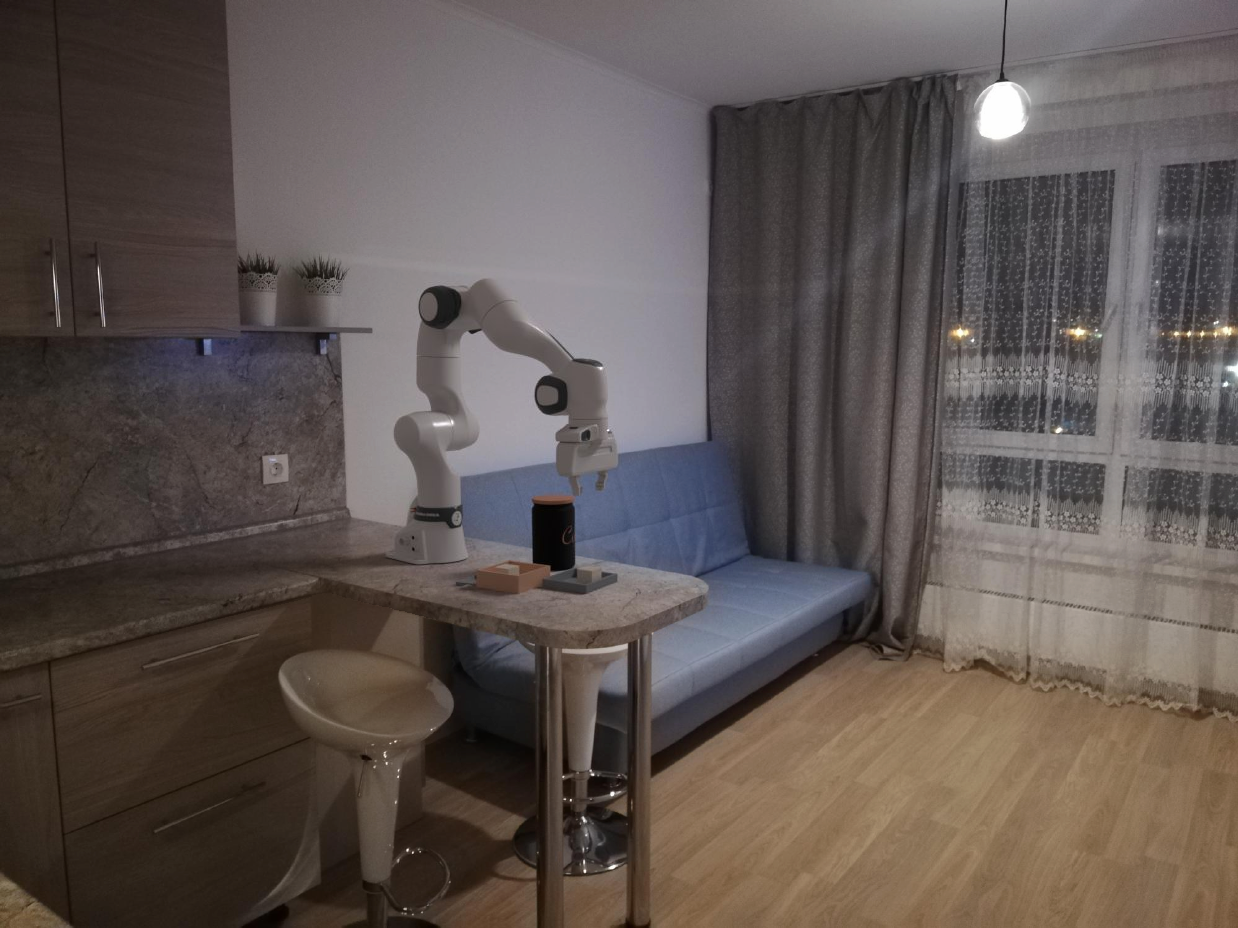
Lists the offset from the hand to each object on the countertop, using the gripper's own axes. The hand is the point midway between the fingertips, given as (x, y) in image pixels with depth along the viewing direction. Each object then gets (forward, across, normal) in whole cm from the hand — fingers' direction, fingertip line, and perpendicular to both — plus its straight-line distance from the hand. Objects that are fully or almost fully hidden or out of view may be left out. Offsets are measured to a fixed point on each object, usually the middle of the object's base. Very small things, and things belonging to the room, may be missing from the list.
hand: (589, 492), depth 207 cm
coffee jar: (+22, -12, -19) cm, 31 cm away
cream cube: (+21, +8, -18) cm, 29 cm away
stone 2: (+21, 0, 0) cm, 21 cm away
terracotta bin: (+22, +8, -16) cm, 28 cm away
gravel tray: (+22, 0, -3) cm, 22 cm away
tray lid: (+22, +8, -26) cm, 35 cm away
